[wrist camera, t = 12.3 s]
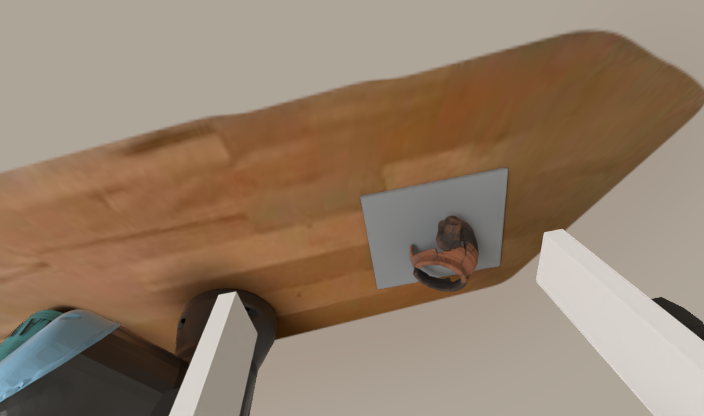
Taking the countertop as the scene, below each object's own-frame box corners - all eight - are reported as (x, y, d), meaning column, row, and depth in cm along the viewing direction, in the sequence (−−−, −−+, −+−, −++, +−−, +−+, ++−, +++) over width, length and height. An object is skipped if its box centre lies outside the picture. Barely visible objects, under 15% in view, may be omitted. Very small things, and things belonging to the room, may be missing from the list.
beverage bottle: (88, 308, 47) (-53, 468, 29) (83, 334, 49) (-48, 496, 32) (38, 295, 45) (-145, 459, 27) (36, 324, 47) (-132, 490, 30)
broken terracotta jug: (476, 253, 48) (472, 301, 42) (416, 244, 51) (406, 287, 46) (486, 199, 39) (482, 250, 34) (413, 192, 42) (400, 238, 37)
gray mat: (377, 286, 49) (377, 289, 49) (360, 196, 41) (360, 198, 40) (497, 263, 49) (499, 265, 49) (505, 167, 41) (508, 169, 40)
